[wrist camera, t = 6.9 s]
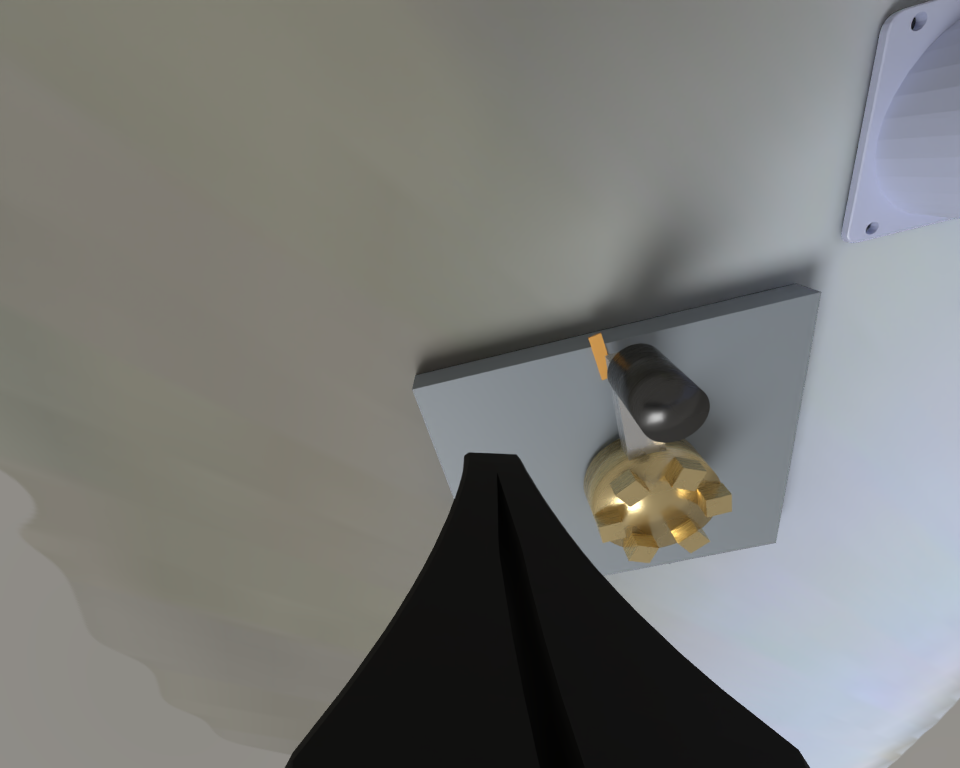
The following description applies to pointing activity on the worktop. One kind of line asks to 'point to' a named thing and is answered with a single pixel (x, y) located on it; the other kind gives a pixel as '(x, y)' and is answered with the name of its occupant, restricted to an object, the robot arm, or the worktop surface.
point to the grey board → (592, 420)
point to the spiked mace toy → (653, 460)
